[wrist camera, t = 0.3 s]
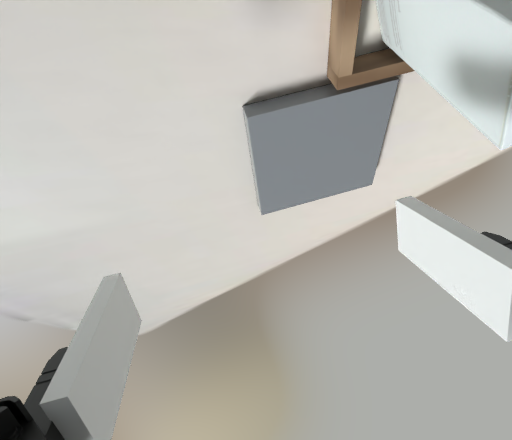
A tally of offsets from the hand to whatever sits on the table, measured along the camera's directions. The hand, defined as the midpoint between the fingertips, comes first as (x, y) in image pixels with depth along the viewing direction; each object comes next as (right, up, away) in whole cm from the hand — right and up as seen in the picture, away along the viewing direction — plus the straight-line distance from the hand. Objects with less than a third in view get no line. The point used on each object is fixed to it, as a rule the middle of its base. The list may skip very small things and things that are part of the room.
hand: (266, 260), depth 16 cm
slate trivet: (+5, +9, +15) cm, 18 cm away
